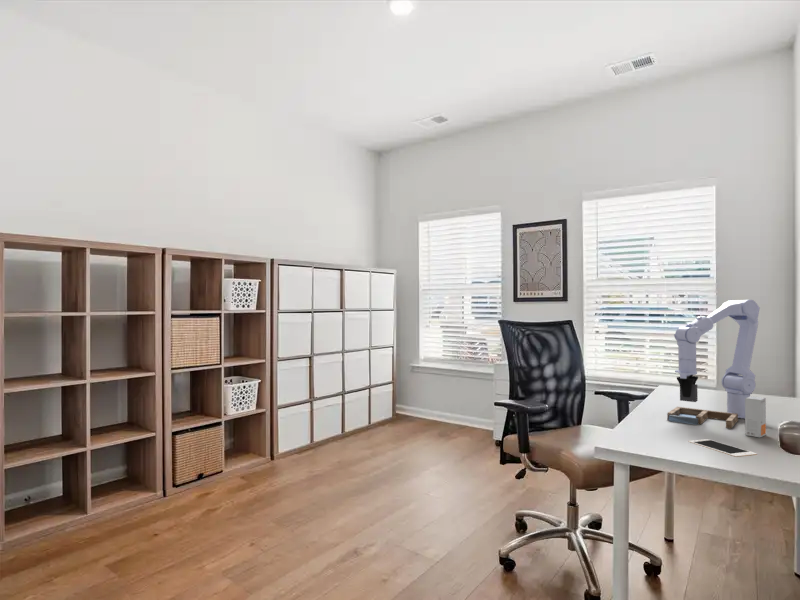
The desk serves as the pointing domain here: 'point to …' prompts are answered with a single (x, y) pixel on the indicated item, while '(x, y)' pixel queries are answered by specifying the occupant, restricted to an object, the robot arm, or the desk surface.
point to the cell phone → (723, 447)
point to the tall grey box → (692, 397)
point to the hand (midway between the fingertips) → (687, 396)
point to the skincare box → (755, 416)
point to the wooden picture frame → (700, 416)
